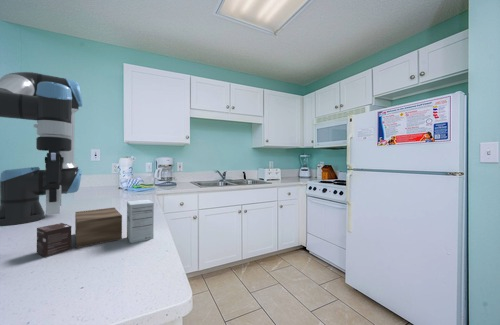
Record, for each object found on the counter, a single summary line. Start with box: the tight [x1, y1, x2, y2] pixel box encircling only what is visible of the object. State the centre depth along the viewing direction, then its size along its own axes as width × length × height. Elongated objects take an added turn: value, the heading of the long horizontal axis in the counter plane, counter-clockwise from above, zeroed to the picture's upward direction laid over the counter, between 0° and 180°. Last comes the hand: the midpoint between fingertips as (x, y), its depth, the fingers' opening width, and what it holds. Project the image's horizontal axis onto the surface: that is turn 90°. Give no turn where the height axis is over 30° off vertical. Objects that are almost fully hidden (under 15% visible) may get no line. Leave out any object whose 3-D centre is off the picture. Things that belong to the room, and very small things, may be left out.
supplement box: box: [126, 199, 155, 244], centre depth 73 cm, size 7×7×13 cm
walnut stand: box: [74, 207, 123, 249], centre depth 74 cm, size 16×12×8 cm
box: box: [36, 222, 72, 258], centre depth 62 cm, size 6×6×7 cm
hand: (54, 210), depth 61 cm, fingers open, 13 cm apart
